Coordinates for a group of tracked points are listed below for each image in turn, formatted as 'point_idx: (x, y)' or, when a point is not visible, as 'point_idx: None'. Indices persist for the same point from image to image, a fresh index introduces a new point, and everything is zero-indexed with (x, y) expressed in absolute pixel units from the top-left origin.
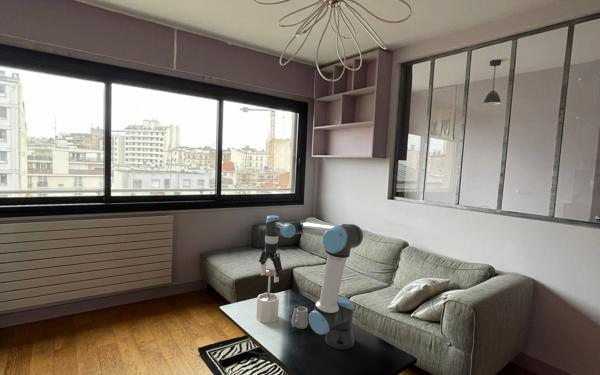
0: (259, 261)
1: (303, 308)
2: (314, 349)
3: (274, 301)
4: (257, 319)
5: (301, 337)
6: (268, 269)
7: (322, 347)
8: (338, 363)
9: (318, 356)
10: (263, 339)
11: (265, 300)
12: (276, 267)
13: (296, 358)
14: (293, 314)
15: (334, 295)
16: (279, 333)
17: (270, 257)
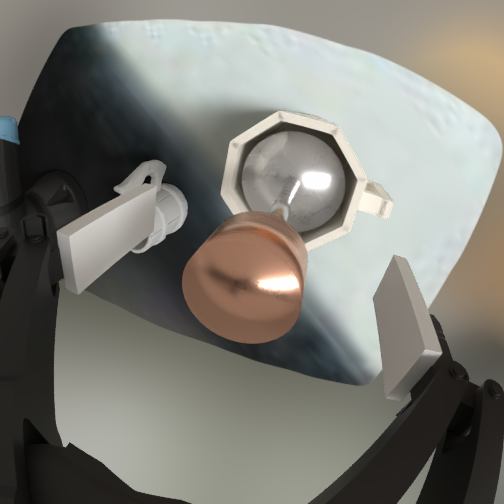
0: (493, 386)
1: (142, 246)
2: (70, 127)
3: (226, 167)
4: (323, 119)
5: (119, 144)
6: (280, 312)
7: (66, 151)
8: (27, 131)
9: (53, 113)
10: (193, 33)
11: (287, 148)
12: (15, 271)
13: (75, 60)
14: (132, 174)
15: None
16: (180, 103)
17: (6, 453)
